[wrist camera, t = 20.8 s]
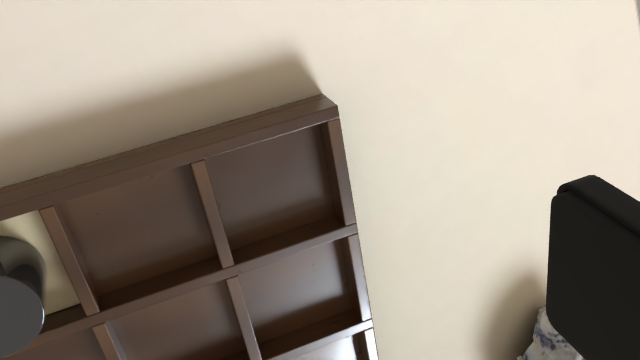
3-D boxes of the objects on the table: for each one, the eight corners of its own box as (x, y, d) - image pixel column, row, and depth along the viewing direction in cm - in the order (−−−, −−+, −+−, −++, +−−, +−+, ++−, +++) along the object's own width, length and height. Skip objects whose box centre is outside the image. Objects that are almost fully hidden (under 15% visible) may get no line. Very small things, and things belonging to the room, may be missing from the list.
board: (-130, 226, 28) (-143, 249, 26) (323, 93, 33) (337, 105, 31) (52, 518, 38) (52, 549, 36) (373, 383, 43) (386, 405, 41)
